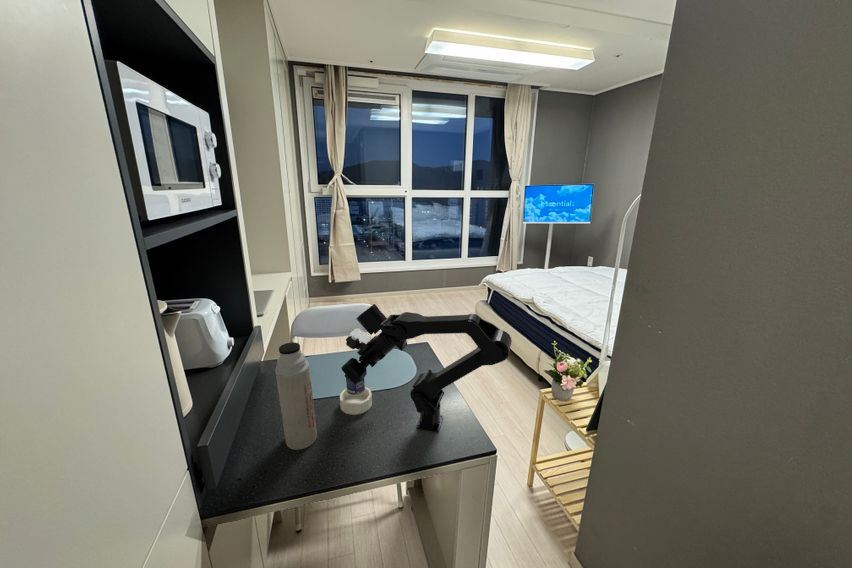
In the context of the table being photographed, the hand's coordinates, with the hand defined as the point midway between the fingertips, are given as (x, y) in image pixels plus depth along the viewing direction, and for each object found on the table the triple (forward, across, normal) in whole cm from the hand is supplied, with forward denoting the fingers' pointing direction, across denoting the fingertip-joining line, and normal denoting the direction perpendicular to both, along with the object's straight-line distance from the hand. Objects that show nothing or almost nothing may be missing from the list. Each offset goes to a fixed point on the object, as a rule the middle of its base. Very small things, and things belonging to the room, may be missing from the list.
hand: (350, 371), depth 104 cm
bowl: (+7, 0, +9) cm, 11 cm away
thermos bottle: (+12, +18, +4) cm, 22 cm away
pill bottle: (+4, 0, +6) cm, 7 cm away
